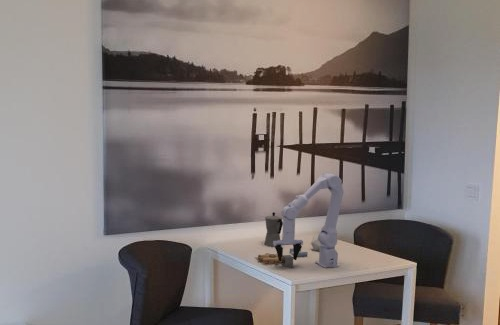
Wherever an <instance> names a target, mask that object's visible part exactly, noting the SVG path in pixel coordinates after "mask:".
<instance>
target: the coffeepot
mask: <svg viewBox="0 0 500 325" xmlns="http://www.w3.org/2000/svg"><path fill="white" fill-rule="evenodd" d="M271 214H272V215H267V216H266V217H264V220H265V228H266V233H265V234H266V235H265V240H264V246H266V247H270V248H271V247H272V248H273V247H274V248H275V246H274V245H273V241H278V240H281V236H280V234H281V232H282V230H283V217H281V216H278V215H276V212H272V213H271Z"/></svg>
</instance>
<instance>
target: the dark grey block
mask: <svg viewBox="0 0 500 325" xmlns="http://www.w3.org/2000/svg"><path fill="white" fill-rule="evenodd" d="M281 266H282V267H283V268H285V269H288V268H289V269H290V268H294V259H293V255H292V254H291V255H290V254H287V255H285V254H283V255H282V264H281Z"/></svg>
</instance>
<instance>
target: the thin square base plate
mask: <svg viewBox="0 0 500 325" xmlns="http://www.w3.org/2000/svg"><path fill="white" fill-rule="evenodd" d="M254 259H256V260H257V261H258V256H255V257H254ZM258 262H259V263H261V264H262V265H264V266H276V265H282V262H280V263H279V264H275V263H264V262H263V261H258Z"/></svg>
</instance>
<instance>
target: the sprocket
mask: <svg viewBox="0 0 500 325" xmlns="http://www.w3.org/2000/svg"><path fill="white" fill-rule="evenodd" d="M283 252H284V249H283V250H282V255H284V253H283ZM257 257H258V260H257V261H258V262H259V261H263V262H264V263H275V264H279V263H280V262H282V260H281V261H279V260H278V254H277V253H265V254H257Z"/></svg>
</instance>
